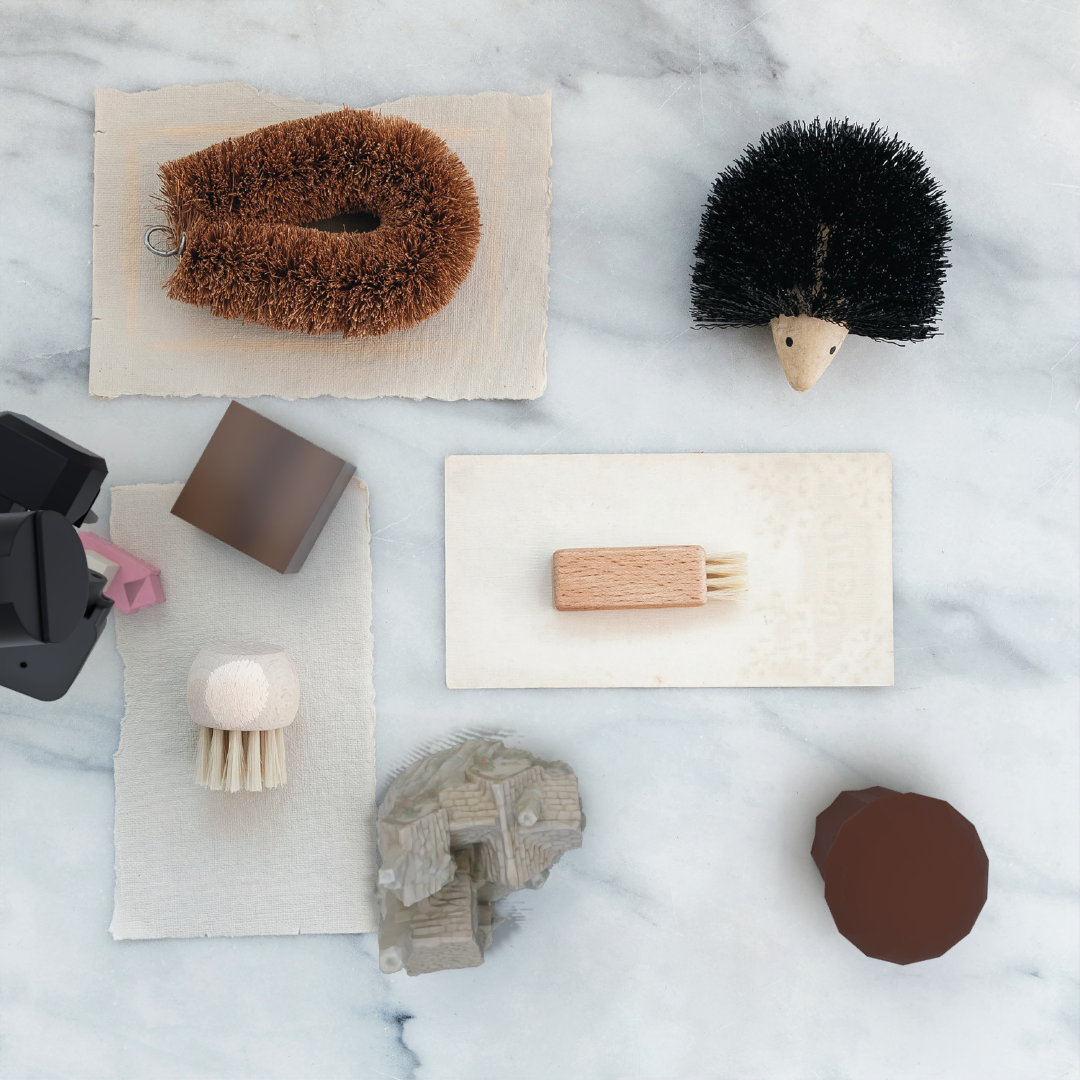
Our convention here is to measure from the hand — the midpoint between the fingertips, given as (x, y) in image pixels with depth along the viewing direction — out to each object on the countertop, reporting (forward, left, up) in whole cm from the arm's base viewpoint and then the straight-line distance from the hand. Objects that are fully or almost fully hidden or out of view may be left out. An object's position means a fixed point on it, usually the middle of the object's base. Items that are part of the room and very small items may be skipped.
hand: (56, 579), depth 54 cm
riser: (+7, +11, -9) cm, 16 cm away
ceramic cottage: (+33, -5, -9) cm, 35 cm away
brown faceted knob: (+59, +9, -9) cm, 60 cm away
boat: (0, 0, -9) cm, 9 cm away
